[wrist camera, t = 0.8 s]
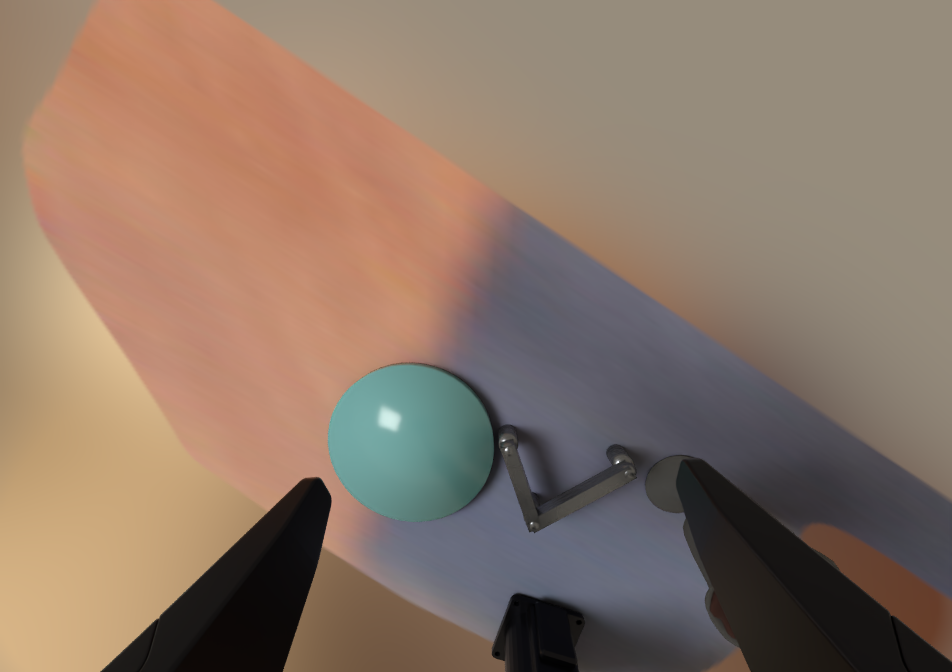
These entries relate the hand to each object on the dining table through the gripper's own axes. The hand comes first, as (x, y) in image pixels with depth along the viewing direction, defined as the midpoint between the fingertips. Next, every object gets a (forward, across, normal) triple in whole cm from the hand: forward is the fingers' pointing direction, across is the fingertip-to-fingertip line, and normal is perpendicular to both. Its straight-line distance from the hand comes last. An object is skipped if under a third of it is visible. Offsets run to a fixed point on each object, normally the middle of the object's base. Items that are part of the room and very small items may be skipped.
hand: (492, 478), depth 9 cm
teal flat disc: (+14, +8, +14) cm, 21 cm away
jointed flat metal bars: (+13, -3, +17) cm, 22 cm away
